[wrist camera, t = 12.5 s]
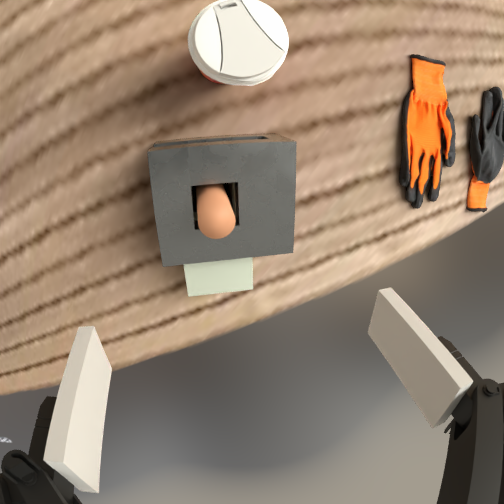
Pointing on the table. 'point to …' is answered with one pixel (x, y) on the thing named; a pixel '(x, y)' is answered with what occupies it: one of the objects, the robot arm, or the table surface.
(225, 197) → the pin
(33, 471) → the robot arm
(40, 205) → the table surface
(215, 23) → the paper cup
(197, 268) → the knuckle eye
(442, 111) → the pair of gloves
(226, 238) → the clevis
